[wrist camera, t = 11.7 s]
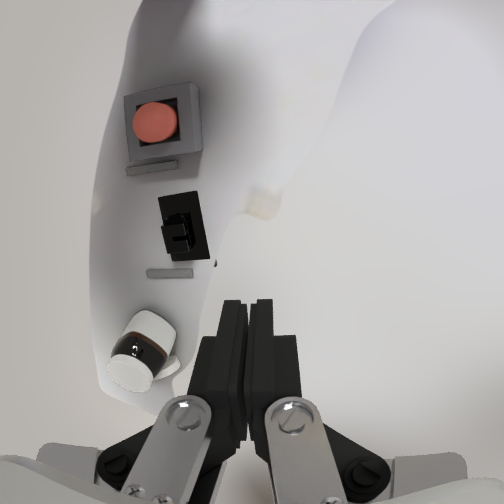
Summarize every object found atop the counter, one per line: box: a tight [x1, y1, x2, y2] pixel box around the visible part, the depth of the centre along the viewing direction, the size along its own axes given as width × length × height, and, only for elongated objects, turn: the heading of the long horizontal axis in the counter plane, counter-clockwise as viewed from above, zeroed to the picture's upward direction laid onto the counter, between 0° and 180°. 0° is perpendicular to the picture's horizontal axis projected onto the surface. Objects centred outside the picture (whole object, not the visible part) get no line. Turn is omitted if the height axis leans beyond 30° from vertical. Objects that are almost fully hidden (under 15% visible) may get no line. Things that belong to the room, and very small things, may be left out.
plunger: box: [133, 102, 180, 143], centre depth 28 cm, size 4×4×4 cm
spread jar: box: [107, 310, 181, 393], centre depth 40 cm, size 12×11×12 cm
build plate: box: [158, 191, 217, 267], centre depth 36 cm, size 12×7×5 cm, turn 7°
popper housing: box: [124, 82, 203, 162], centre depth 30 cm, size 8×8×4 cm
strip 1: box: [126, 161, 178, 176], centre depth 34 cm, size 1×7×1 cm, turn 93°
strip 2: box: [146, 269, 193, 278], centre depth 40 cm, size 1×7×1 cm, turn 93°
